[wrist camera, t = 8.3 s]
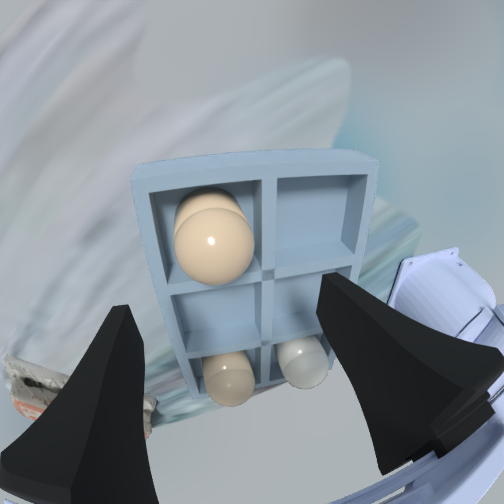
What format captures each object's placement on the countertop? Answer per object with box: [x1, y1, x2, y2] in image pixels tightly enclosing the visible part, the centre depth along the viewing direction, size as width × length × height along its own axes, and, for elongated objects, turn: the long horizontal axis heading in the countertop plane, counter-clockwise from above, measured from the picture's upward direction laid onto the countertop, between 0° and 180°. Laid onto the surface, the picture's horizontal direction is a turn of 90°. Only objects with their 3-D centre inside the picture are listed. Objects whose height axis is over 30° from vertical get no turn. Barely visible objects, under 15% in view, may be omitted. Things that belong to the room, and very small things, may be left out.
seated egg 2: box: [273, 334, 329, 389], centre depth 23 cm, size 4×4×5 cm
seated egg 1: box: [201, 350, 255, 407], centre depth 21 cm, size 4×4×5 cm
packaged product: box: [3, 354, 156, 441], centre depth 23 cm, size 18×5×10 cm
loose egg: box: [174, 187, 255, 286], centre depth 14 cm, size 4×4×5 cm
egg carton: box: [130, 149, 380, 399], centre depth 20 cm, size 14×20×3 cm
